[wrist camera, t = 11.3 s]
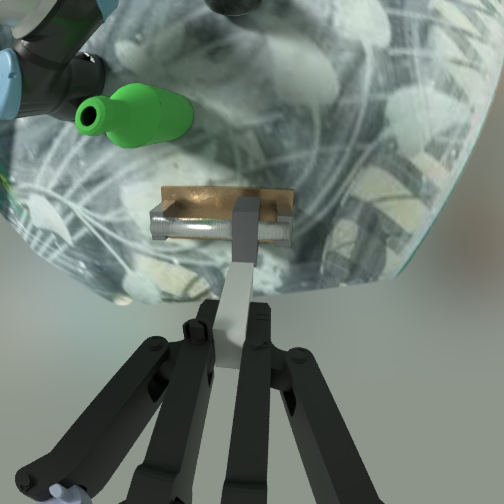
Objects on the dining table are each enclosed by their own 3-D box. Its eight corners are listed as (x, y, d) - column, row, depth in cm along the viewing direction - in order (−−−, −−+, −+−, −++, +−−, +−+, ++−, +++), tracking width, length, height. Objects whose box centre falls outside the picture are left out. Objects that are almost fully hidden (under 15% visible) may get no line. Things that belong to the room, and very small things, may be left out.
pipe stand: (166, 235, 53) (148, 256, 44) (162, 186, 49) (141, 199, 40) (289, 241, 52) (292, 265, 43) (293, 189, 48) (298, 204, 39)
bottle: (189, 87, 41) (117, 59, 18) (199, 132, 44) (134, 141, 22) (144, 103, 42) (52, 97, 19) (154, 145, 45) (67, 170, 23)
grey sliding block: (237, 242, 49) (232, 265, 41) (238, 196, 45) (232, 211, 37) (258, 243, 49) (256, 267, 41) (260, 197, 45) (258, 212, 37)
